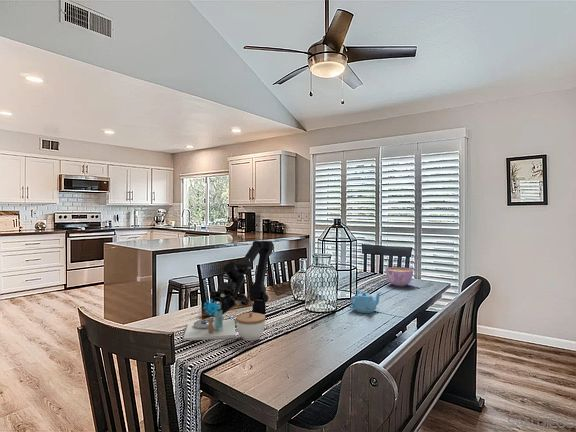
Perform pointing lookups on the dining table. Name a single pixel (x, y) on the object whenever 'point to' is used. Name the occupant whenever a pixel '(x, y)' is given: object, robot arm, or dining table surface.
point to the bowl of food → (399, 275)
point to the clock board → (206, 335)
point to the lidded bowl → (250, 325)
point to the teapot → (364, 302)
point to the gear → (211, 307)
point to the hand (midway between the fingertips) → (221, 314)
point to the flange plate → (216, 324)
